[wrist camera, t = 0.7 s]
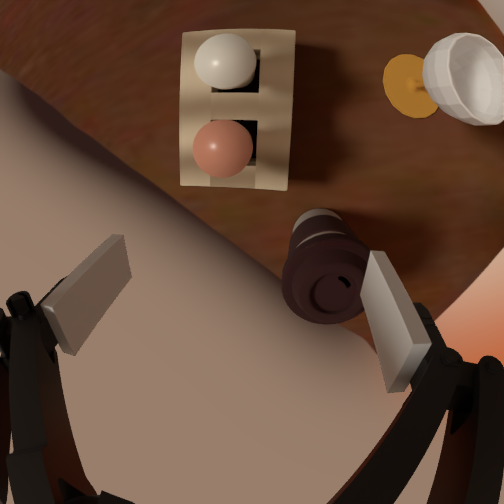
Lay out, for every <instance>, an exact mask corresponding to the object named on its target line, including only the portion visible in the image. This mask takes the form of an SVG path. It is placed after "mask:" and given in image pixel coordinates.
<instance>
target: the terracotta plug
mask: <svg viewBox="0 0 504 504" xmlns="http://www.w3.org/2000/svg"><path fill="white" fill-rule="evenodd" d="M252 153H253V142H252V137H251V134H250V133H249V131H248V130H247V129H246V128H245V127H243V126H242V125H241V124H239V123H237V122H235V121H232V120H226V119H223V120H215V121H212V122H209V123H207V124H206V125H204V126H203V127H202V128H201V129H200V130H199V131H198V133H197V134H196V136H195V138H194V141H193V156H194V159H195V161H196V163H197V165H198V166H199V167H200V168H201V169H202V170H203V171H204V172H205V173H207V174H209V175H211V176H213V177H218V178H226V177H231V176H234V175H236V174H238V173H239V172H241V171H242V170H243V169H244V168H245V167H246V165H247V164H248V162H249V161H250V159H251V156H252Z"/></svg>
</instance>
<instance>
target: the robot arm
mask: <svg viewBox="0 0 504 504" xmlns="http://www.w3.org/2000/svg"><path fill="white" fill-rule="evenodd" d="M131 278H132V276H131V271H130V266H129V261H128V256H127V251H126V246H125V240H124V235H115V234H112V235H111V236H110V237H109V238H108V239H107V240H105V241H104V242H103V243H102V244H101V245H100V246H99V247H98V248H97V249H96V250H94V251H93V252H92V253H91V254H90V255H89V256H88V257H87V258H86V259H85V260H84V261H83V262H82V263H81V264H80V265H79V266H78V267H77V268H76V269H74V271H72V272H71V273H70V274H69V275H68V276H66V277H65V278H63V279H61V280H60V281H59V282H58V283H57V284H56V285H55V286H54V287H53V288H52V289H51V290H50V292H48V293H47V294H46V295H45V296H44V297H43V298H42V300H40V301H39V303H38V304H37V305H36V306H34V304H33V301H32V299H31V297H30V294H29V293H28V292H27V291H20V292H17V293H15V294H13V295H12V296H10V297H9V298H8V300H7V301H6V305H7V307H8V309H9V312H10V314H11V316H10V317H6V315H5V313H4V311H3V309H2V308H0V352H1V353H2V354H1V357H0V504H6V501H7V493H8V476H9V481H10V486H11V491H12V495H13V500H14V503H15V504H134V503H133V502H131V501H128V500H125V499H123V498H120V497H117V496H114V495H112V494H109V493H107V492H104V491H101V494H100V495H97V493H96V491H95V490H94V488H93V486H92V485H91V484H90V482H89V481H88V480H87V478H86V476H85V473H84V470H83V467H82V464H81V461H80V458H79V455H78V452H77V448H76V445H75V441H74V438H73V434H72V430H71V426H70V422H69V418H68V414H67V409H66V405H65V400H64V395H63V389H62V383H61V377H60V371H59V365H58V356H57V352H56V350H55V346H56V345H57V344H59V346H60V347H61V349H62V351H63V352H64V353H67V354H70V355H73V356H75V355H76V354H77V352H78V351H79V349H80V347H81V346H82V345H83V343H84V342H85V340H86V339H87V338H88V336H89V335H90V333H91V332H92V330H93V329H94V328H95V326H96V324H97V323H98V322H99V321H100V319H101V318H102V316H103V315H104V314H105V312H106V311H107V309H108V308H109V307H110V305H111V304H112V303H113V301H114V300H115V299H116V297H117V296H118V295H119V293H120V292H121V290H122V289H123V288H124V287H125V285H126V284H127V283H128V282H129V280H130V279H131ZM360 296H361V299H362V303H363V306H364V309H365V312H366V315H367V319H368V322H369V325H370V329H371V332H372V336H373V339H374V343H375V347H376V350H377V354H378V358H379V361H380V365H381V369H382V373H383V377H384V380H385V385H386V389H387V393H393V392H404V391H405V389H406V388H407V386H408V385H409V383H410V384H411V388H412V392H411V393H410V395H409V396H408V398H407V399H406V401H405V402H404V403H403V405H402V408H401V409H400V411H399V413H398V414H397V416H396V417H395V419H394V420H393V422H392V423H391V425H390V426H389V428H388V429H387V431H386V432H385V433H384V435H383V436H382V438H381V439H380V440H379V442H378V443H377V445H376V446H375V447H374V449H373V450H372V451H371V453H370V454H369V455H368V457H367V458H366V459H365V461H364V462H363V463H362V464H361V465H360V467H359V468H358V469H357V470H356V472H355V473H354V474H353V475H352V476H351V477H350V479H349V480H348V481H347V482H346V483H345V484H344V485H343V487H342V488H341V489H340V490H339V491H338V492H337V493H336V494H335V496H334V497H333V498H332V499H331V500H330V501H329V502H328V503H327V504H394V502H395V501H396V499H397V498H398V497H399V495H400V493H401V492H402V491H403V489H404V488H405V486H406V485H407V483H408V481H409V480H410V478H411V476H412V475H413V473H414V472H415V470H416V468H417V467H418V465H419V463H420V461H421V460H422V458H423V456H424V455H425V453H426V451H427V449H428V447H429V445H430V443H431V441H432V439H433V438H434V436H435V434H436V432H437V429H438V427H439V425H440V423H441V421H442V419H443V417H444V414H445V412H446V410H449V412H448V418H447V425H446V430H445V435H444V441H443V445H442V450H441V455H440V459H439V463H438V467H437V471H436V474H435V478H434V482H433V485H432V488H431V492H430V495H429V498H428V502H427V504H498V502H499V497H500V491H501V485H502V478H503V470H504V367H503V365H502V364H501V362H500V361H499V360H498V359H497V358H495V357H493V356H484V357H482V358H481V359H480V361H479V363H478V364H474V363H469V362H464V361H463V359H462V357H461V355H460V354H459V353H458V352H457V351H455V350H454V349H451V348H448V347H447V346H446V344H445V342H444V340H443V338H442V336H441V334H440V332H439V330H438V328H437V326H435V322H434V320H433V319H432V317H431V315H430V313H429V311H428V309H426V308H425V307H424V306H423V305H422V304H421V303H412V301H411V299H410V297H409V295H408V293H407V291H406V290H405V288H404V286H403V284H402V282H401V280H400V278H399V277H398V275H397V273H396V271H395V269H394V268H393V266H392V264H391V262H390V260H389V259H388V257H387V255H386V254H385V252H384V251H372V250H371V251H370V256H369V260H368V265H367V269H366V273H365V277H364V281H363V285H362V289H361V293H360ZM11 431H12V440H13V448H14V451H13V453H11V454H9V450H10V439H11Z"/></svg>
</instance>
